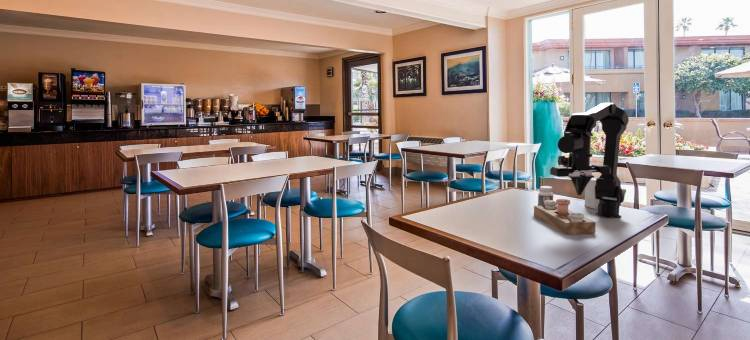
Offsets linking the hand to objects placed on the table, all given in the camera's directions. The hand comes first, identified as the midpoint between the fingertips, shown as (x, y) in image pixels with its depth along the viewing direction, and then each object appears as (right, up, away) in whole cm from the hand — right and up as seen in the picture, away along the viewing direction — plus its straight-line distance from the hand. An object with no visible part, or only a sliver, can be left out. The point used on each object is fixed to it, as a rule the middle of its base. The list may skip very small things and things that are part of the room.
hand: (579, 194), depth 144 cm
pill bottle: (-1, -8, +26) cm, 28 cm away
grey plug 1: (-3, -9, +16) cm, 19 cm away
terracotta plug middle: (-3, -8, +6) cm, 11 cm away
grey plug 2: (-3, -12, -3) cm, 13 cm away
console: (-3, -11, +7) cm, 13 cm away
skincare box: (+21, -7, +30) cm, 38 cm away
